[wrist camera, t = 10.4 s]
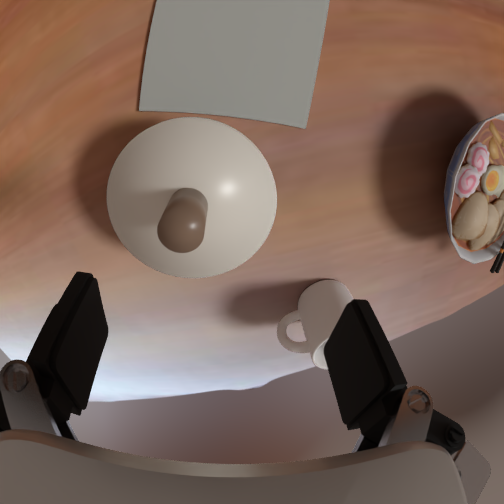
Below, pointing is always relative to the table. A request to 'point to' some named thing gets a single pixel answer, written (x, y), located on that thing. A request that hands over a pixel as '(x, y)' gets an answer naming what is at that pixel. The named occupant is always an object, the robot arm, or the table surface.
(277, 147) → the table surface
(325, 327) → the mug
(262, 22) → the mat
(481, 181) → the ramen bowl
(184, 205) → the lid
